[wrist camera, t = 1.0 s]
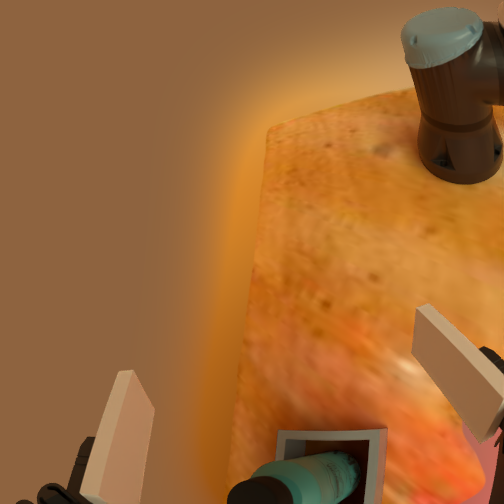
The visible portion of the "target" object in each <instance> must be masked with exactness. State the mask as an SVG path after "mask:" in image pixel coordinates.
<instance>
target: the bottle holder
mask: <svg viewBox="0 0 504 504" xmlns="http://www.w3.org/2000/svg"><path fill="white" fill-rule="evenodd" d="M387 430H388V428H381V429H365V430H332V431H317V430H278V435H277V446H276V457H275V461H278V460H290V459H294V458H295V459H296V458H300V457H304V456H305V447H306V440H369V439H370V442H369V457H368V469H367V479H366V489H365V497H364V504H381V501H382V493H383V484H384V474H385V463H386V449H387Z"/></svg>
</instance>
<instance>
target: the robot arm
mask: <svg viewBox="0 0 504 504" xmlns="http://www.w3.org/2000/svg"><path fill="white" fill-rule="evenodd" d="M497 15H498V22H482V20H481V19H480V17H479V16H478V15H477V14H476V13H475V12H473V11H471V10H468V9H464V8H460V9H458V8H456V7H446V8H438V9H433V10H429V11H426V12H423V13H421V14H419V15H417V16H415V17H413V18H412V19H410V20H409V21H408V22H407V23H406V24H405V25H404V27H403V29H402V31H401V41H402V44H403V48H404V52H405V60H406V63H407V64H408V66H409V68H410V72H411V75H412V78H413V82H414V85H415V89H416V93H417V97H418V101H419V105H420V109H421V120H420V127H419V132H418V149H419V154H420V157H421V160H422V162H423V164H424V165H425V166H426V168H427V169H428V170H429V171H430V172H432V173H433V174H434V175H436V176H437V177H439V178H441V179H443V180H446V181H449V182H452V183H457V184H474V183H479V182H482V181H485V180H487V179H489V178H490V177H492V176H493V175H494V174H495V173H496V172H497V171H498V170H499V168H500V166H501V163H502V159H503V143H502V138H501V136H500V133H499V130H498V127H497V124H496V122H495V119H494V116H493V108H492V105H501V106H504V1H503V2H501V3H500V5H499V7H498V10H497ZM411 353H412V354H413V356H414V357H415V358H416V359H417V361H418V362H419V363H420V364H421V366H422V367H423V368H424V369H425V371H426V372H427V373H428V375H429V376H430V377H431V378H432V380H433V381H434V382H435V384H436V385H437V386H438V387H439V389H440V390H441V391H442V393H443V394H444V395H445V397H446V398H447V399H448V401H449V402H450V403H451V405H452V406H453V407H454V409H455V410H456V411H457V413H458V414H459V415H460V417H461V418H462V420H463V421H464V422H465V424H466V425H467V426H468V428H469V429H470V431H471V432H472V433H473V435H474V436H475V437H476V439H477V440H478V442H479V443H480V444H481V443H483V442H485V441H486V440H488V439H489V438H491V437H492V436H493V435H494V434H495V432H496V431H497V429H498V427H500V428H501V429H502V432H501V434H500V436H499V437H498V439H497V441H496V443H495V445H494V447H496V446H497V445H498V443H499V442H500V444H499V452H498V459H497V466H496V471H495V477H494V482H493V487H492V492H491V496H490V501H489V504H504V360H503V359H501V357H500V356H499V355H498V354H497V353H496V352H494V351H493V350H491V349H489V348H487V347H485V346H483V347H481V348H479V349H478V348H477V347H476V346H475V345H474V344H472V343H471V342H470V341H469V340H468V339H467V338H466V337H465V336H464V335H463V334H462V333H461V332H460V331H459V330H458V329H457V328H456V327H455V326H453V325H452V324H451V323H450V322H449V321H448V320H447V319H446V318H445V317H444V316H443V315H441V314H440V313H439V312H438V311H437V310H436V309H435V308H434V307H433V306H432V305H430V304H429V303H428V304H425V305H422V306H419V307H416V314H415V325H414V335H413V343H412V351H411ZM154 413H155V409H154V408H153V406H152V404H151V402H150V400H149V399H148V397H147V395H146V393H145V391H144V390H143V388H142V386H141V384H140V382H139V380H138V378H137V376H136V374H135V372H134V370H128V371H119V372H118V375H117V377H116V380H115V383H114V386H113V388H112V391H111V394H110V397H109V399H108V402H107V405H106V408H105V411H104V414H103V417H102V420H101V423H100V426H99V429H98V432H97V435H96V437H87V438H86V440H85V441H84V442H83V443H82V445H81V446H80V449H79V452H78V455H77V456H78V457H77V458H76V461H75V465H74V467H73V470H72V474H71V477H70V480H69V483H68V487H67V490H65V489H64V488H63V487H62V486H60V485H59V484H56V483H49V484H46V485H45V486H43V487H42V488H41V489H40V491H39V492H38V495H37V503H38V504H140V498H141V491H142V484H143V477H144V470H145V464H146V458H147V452H148V446H149V440H150V435H151V429H152V423H153V418H154ZM16 504H33V503H32V502H30V501H28V500H20V501H18V502H17V503H16Z"/></svg>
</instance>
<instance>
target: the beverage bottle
mask: <svg viewBox="0 0 504 504" xmlns="http://www.w3.org/2000/svg"><path fill="white" fill-rule="evenodd" d="M340 451H341V450H340ZM340 451H332V452H328V451H325V452H327V453H322V454H316V453H314V455H309V456H306V455H305V456H304V457H300V458H296V459H295V458H294V459H290V460H278V461H273V462H269V463H267V464H265V465H263V466H261V467H260V468H259V469H257V470H256V471H255V472H254V474H253V475H252V476H251V478H250V479H248V480H246V481H243V482H240V483H238V484H237V485H236V486H234V487H233V488H232V490H231V491H230V493H229V495H228V498H227V504H338V503H340V502H341V501H343V499H344V498H346V497H347V496H348V497H349V495H350V494H351V493H354V492H355V491H354V490H356V488H357V486H358V484H359V481H360V479H361V478H360V477H362V476H361V473H362V472H361V471H360V467H359V465H360V464H358V463H359V462H357V461H356V460H355V459H356V458H355V457H354V458H355V459H354V458H353V457H352V456H351V455H349V454H348V453H344V452H343V451H342V452H340ZM360 482H361V481H360ZM353 491H354V492H353ZM348 497H347V498H348Z"/></svg>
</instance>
